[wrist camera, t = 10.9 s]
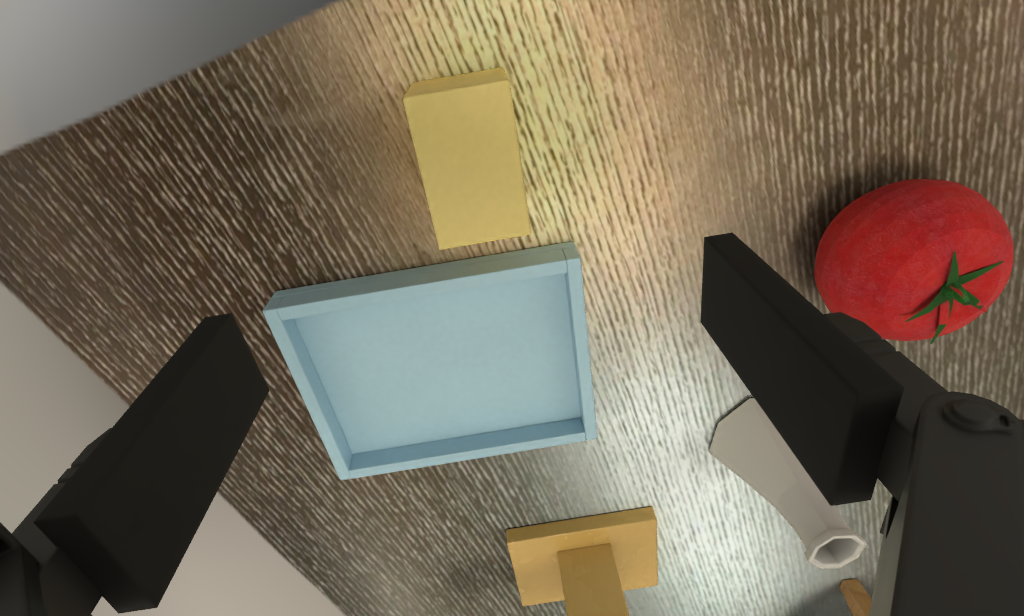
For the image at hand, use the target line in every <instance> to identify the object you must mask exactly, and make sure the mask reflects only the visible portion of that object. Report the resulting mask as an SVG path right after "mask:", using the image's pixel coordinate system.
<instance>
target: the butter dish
mask: <svg viewBox="0 0 1024 616" xmlns="http://www.w3.org/2000/svg"><path fill="white" fill-rule="evenodd" d="M263 314H264V316H265V318H266V320H267V322H268V325H269V327H270V329H271V331H272V333H273V335H274V338H275V340H276V342H277V344H278V346H279V348H280V350H281V353H282V355H283V357H284V359H285V361H286V363H287V366H288V368H289V370H290V372H291V374H292V376H293V379H294V381H295V383H296V385H297V387H298V389H299V392H300V394H301V396H302V398H303V400H304V402H305V404H306V407H307V409H308V411H309V413H310V415H311V417H312V420H313V422H314V424H315V426H316V428H317V430H318V433H319V435H320V437H321V439H322V441H323V443H324V446H325V448H326V450H327V452H328V454H329V456H330V459H331V461H332V463H333V465H334V467H335V469H336V471H337V474H338V476H339V478H340V480H346V479H351V478H359V477H365V476H371V475H378V474H384V473H390V472H396V471H402V470H408V469H415V468H421V467H427V466H433V465H439V464H446V463H452V462H458V461H464V460H470V459H476V458H483V457H489V456H495V455H501V454H507V453H514V452H520V451H526V450H532V449H538V448H544V447H551V446H557V445H563V444H569V443H575V442H582V441H586V440H593V439H597V427H596V417H595V406H594V396H593V385H592V374H591V364H590V353H589V342H588V332H587V321H586V310H585V300H584V289H583V278H582V268H581V258H580V256H579V253H578V251H577V249H576V246H575V244H574V242H573V241H572V242H566V243H560V244H554V245H548V246H542V247H536V248H530V249H524V250H518V251H512V252H506V253H500V254H494V255H488V256H483V257H477V258H471V259H465V260H459V261H453V262H447V263H441V264H435V265H429V266H423V267H417V268H411V269H405V270H399V271H394V272H388V273H382V274H376V275H370V276H364V277H358V278H352V279H346V280H340V281H334V282H328V283H322V284H316V285H310V286H304V287H299V288H293V289H287V290H281V291H276V292H275V293H274V294H273V296H272V297H271V299H270V300H269V302H268V303H267V305H266V306H265V308H264V309H263Z"/></svg>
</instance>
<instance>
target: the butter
mask: <svg viewBox="0 0 1024 616" xmlns="http://www.w3.org/2000/svg"><path fill="white" fill-rule="evenodd" d="M403 104H404V108H405V112H406V116H407V120H408V124H409V128H410V132H411V137H412V141H413V145H414V149H415V153H416V157H417V161H418V165H419V169H420V173H421V178H422V182H423V186H424V190H425V194H426V198H427V202H428V206H429V210H430V214H431V219H432V223H433V227H434V231H435V235H436V239H437V243H438V247H439V249H440V250H443V249H449V248H455V247H461V246H466V245H472V244H478V243H484V242H490V241H496V240H502V239H508V238H514V237H520V236H526V235H530V234H531V228H530V221H529V214H528V207H527V200H526V193H525V186H524V179H523V172H522V165H521V158H520V151H519V144H518V137H517V130H516V123H515V116H514V109H513V102H512V95H511V88H510V81H509V79H508V77H507V75H506V73H505V71H504V69H503V67H499V68H494V69H488V70H482V71H477V72H471V73H465V74H459V75H454V76H448V77H442V78H436V79H431V80H425V81H419V82H414V83H412V85H411V86H410V88H409V89H408V91H407V92H406V94H405V95H404V97H403Z"/></svg>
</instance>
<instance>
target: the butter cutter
mask: <svg viewBox="0 0 1024 616" xmlns="http://www.w3.org/2000/svg"><path fill="white" fill-rule="evenodd" d="M506 536H507V545H508V549H509V553H510V557H511V561H512V565H513V569H514V573H515V577H516V581H517V585H518V589H519V593H520V597H521V601H522V605H523V606H528V605H535V604H541V603H547V602H554V601H560V600H565V605H566V612H567V616H629V612H628V608H627V604H626V600H625V597H624V593H623V591H624V590H630V589H637V588H643V587H650V586H656V585H658V569H657V519H656V516H655V513H654V510H653V508H652V507H645V508H639V509H633V510H626V511H620V512H614V513H607V514H601V515H595V516H589V517H582V518H576V519H570V520H564V521H557V522H551V523H545V524H538V525H532V526H526V527H520V528H513V529H507V530H506Z"/></svg>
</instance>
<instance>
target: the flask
mask: <svg viewBox="0 0 1024 616" xmlns="http://www.w3.org/2000/svg"><path fill="white" fill-rule="evenodd" d="M709 452H710V453H711V454H712V455H713V456H714V457H715V458H717V459H718V460H719V461H720V462H722V463H723V464H724V465H725V466H727V467H728V468H729V469H730V470H731V471H733V472H734V473H735V474H736V475H738V476H739V477H740V478H741V479H743V480H744V481H745V482H746V483H747V484H749V485H750V486H751V487H752V488H753V489H754V490H756V491H757V492H758V493H759V494H760V495H761V496H762V497H764V498H765V499H766V500H767V501H768V502H769V503H771V504H772V505H773V506H774V507H775V508H776V509H777V510H778V511H779V512H780V514H781V515H782V516H783V517H784V518H785V519H786V520H787V521H788V523H789V524H790V525H791V526H792V527H793V528H794V529H795V531H796V533H797V534H798V536H799V537H800V539H801V540H802V542H803V544H804V545H805V548H806V551H805V557H806V559H807V560H808V562H810V563H812V564H813V565H815V566H816V567H818V568H820V569H828V568H841V567H843V566H844V565H846V564H848V563H849V562H851V561H853V560H854V559H856V558H858V557H859V555H860V554H861V552H862V550H863V549H864V547H865V545H866V544H867V543H866V541H865V540H864V539H863V538H862V537H861V536H859V535H858V534H856V533H855V532H853V531H852V530H851V529H850V528H849V527H848V525H847V524H846V523H845V521H844V520H843V518H842V517H841V515H840V513H839V511H838V509H837V507H836V505H834V506H830V505H829V503H828V502H827V500H826V499H825V498H824V496H823V495H822V493H821V492H820V490H819V489H818V488H817V486H816V485H815V483H814V482H813V481H812V479H811V478H810V476H809V475H808V473H807V472H806V471H805V469H804V468H803V466H802V465H801V463H800V462H799V461H798V459H797V458H796V456H795V455H794V454H793V452H792V451H791V449H790V448H789V446H788V445H787V444H786V442H785V441H784V439H783V438H782V437H781V435H780V434H779V432H778V431H777V429H776V428H775V427H774V425H773V424H772V422H771V421H770V420H769V418H768V417H767V415H766V414H765V412H764V411H763V410H762V408H761V407H760V405H759V404H758V403H757V401H756V400H755V398H749V399H748V400H747V401H746V402H744V403H743V404H742V405H740V406H739V407H738V408H737V409H735V410H734V411H733V412H732V413H730V414H729V415H728V416H727V417H725V418H724V419H723V420H721V421H720V422H719V423H718V425H717V428H716V431H715V434H714V437H713V441H712V444H711V447H710V450H709Z"/></svg>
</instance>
